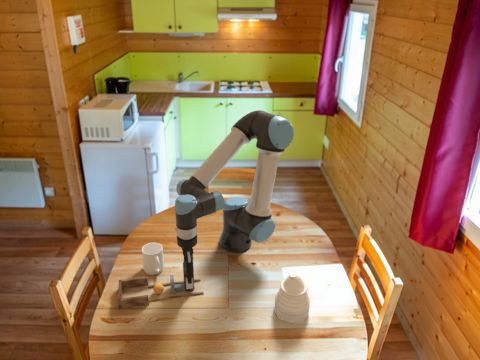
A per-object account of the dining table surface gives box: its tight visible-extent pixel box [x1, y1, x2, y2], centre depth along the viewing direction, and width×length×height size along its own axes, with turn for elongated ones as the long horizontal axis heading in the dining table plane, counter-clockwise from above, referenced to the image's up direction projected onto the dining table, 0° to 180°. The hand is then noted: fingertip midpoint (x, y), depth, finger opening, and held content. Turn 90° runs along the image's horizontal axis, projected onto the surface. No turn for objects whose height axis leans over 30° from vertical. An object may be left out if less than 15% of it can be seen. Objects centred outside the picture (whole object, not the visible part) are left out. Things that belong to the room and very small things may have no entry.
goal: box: [117, 276, 150, 310], centre depth 153 cm, size 11×12×4 cm
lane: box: [147, 278, 204, 303], centre depth 157 cm, size 21×9×1 cm, turn 103°
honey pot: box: [273, 271, 311, 324], centre depth 145 cm, size 13×13×18 cm
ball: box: [153, 283, 165, 295], centre depth 155 cm, size 4×4×4 cm
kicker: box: [169, 260, 196, 295], centre depth 155 cm, size 9×6×12 cm, turn 103°
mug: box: [141, 242, 165, 276], centre depth 166 cm, size 9×12×11 cm
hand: (189, 284), depth 158 cm, fingers closed on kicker, 4 cm apart
